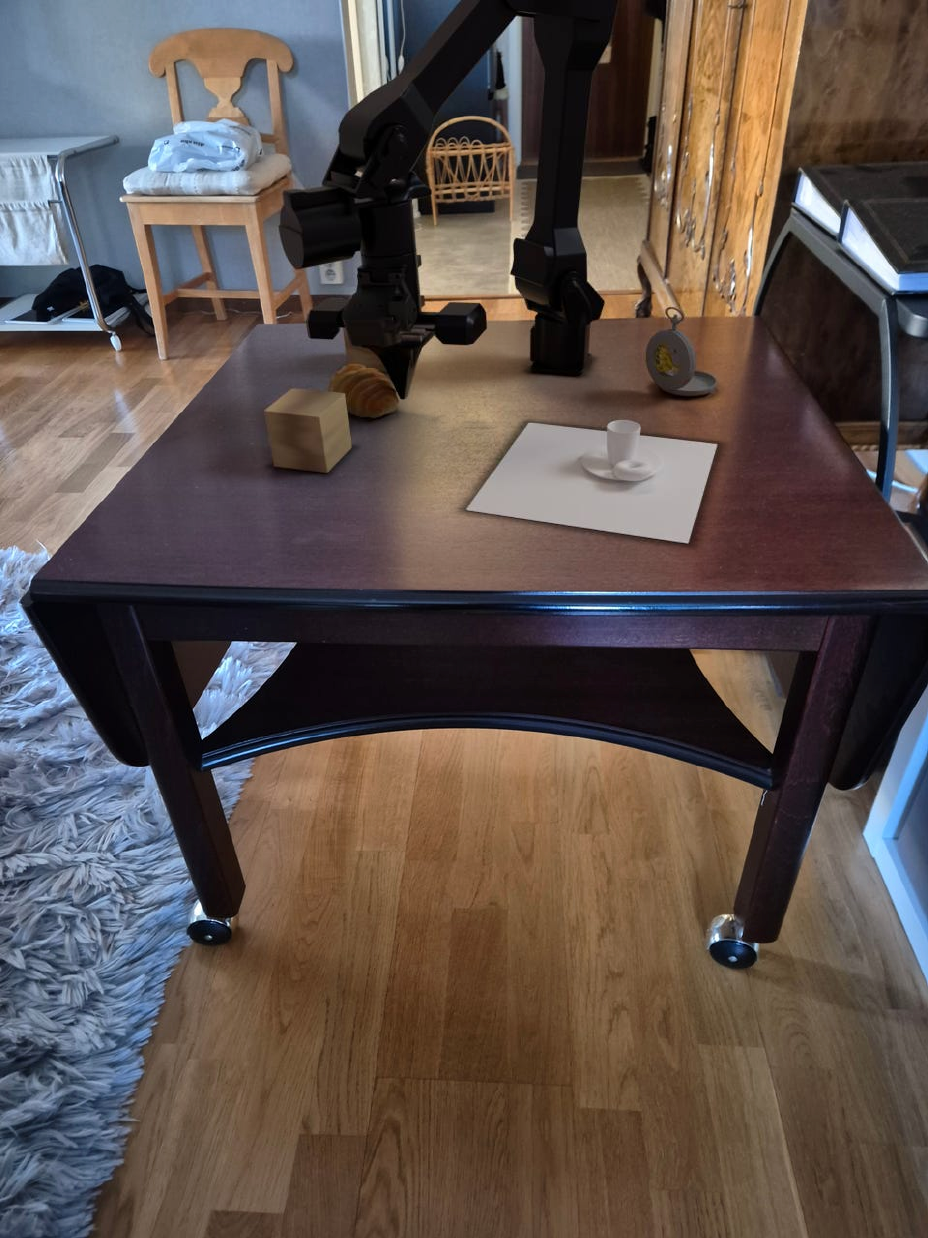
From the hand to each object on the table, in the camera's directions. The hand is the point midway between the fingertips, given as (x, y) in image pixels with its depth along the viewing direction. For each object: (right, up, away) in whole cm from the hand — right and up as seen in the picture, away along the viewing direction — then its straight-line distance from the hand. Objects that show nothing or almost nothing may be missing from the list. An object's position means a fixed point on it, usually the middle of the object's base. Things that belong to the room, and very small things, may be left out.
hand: (403, 398), depth 95 cm
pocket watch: (+32, +1, +3) cm, 32 cm away
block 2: (-4, +8, +14) cm, 16 cm away
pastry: (-4, 0, +3) cm, 5 cm away
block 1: (-9, -8, -8) cm, 14 cm away
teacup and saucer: (+20, -11, -13) cm, 26 cm away
